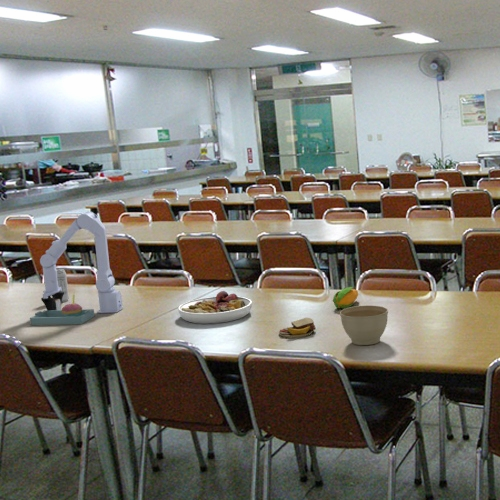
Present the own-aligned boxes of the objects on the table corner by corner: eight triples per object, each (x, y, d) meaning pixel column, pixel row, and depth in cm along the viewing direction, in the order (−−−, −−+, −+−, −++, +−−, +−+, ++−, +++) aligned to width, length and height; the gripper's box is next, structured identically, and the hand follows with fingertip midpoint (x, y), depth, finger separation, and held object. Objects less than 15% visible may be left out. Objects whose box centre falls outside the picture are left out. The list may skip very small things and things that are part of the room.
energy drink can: (70, 299, 373) (67, 268, 370) (66, 302, 367) (63, 271, 364) (58, 299, 373) (55, 269, 371) (54, 302, 367) (50, 271, 365)
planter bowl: (384, 333, 274) (382, 303, 272) (394, 346, 258) (392, 314, 256) (338, 337, 273) (336, 307, 272) (345, 350, 257) (343, 318, 256)
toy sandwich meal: (276, 331, 288) (275, 319, 287) (312, 327, 289) (311, 315, 289) (281, 340, 276) (280, 327, 275) (319, 336, 277) (318, 323, 276)
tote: (94, 315, 334) (93, 307, 334) (82, 323, 322) (81, 315, 321) (45, 317, 339) (44, 308, 339) (30, 325, 327) (29, 316, 326)
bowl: (244, 325, 301) (242, 305, 300) (170, 327, 307) (168, 307, 306) (258, 306, 330) (257, 288, 329) (190, 308, 336) (189, 290, 335)
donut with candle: (86, 317, 333) (83, 290, 331) (77, 322, 324) (74, 294, 323) (68, 317, 335) (65, 290, 333) (58, 323, 327) (55, 295, 325)
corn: (328, 292, 310) (347, 281, 327) (328, 310, 311) (347, 299, 329) (346, 294, 306) (363, 283, 324) (346, 313, 308) (363, 301, 325)
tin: (61, 312, 346) (60, 298, 345) (57, 315, 342) (55, 301, 341) (52, 312, 347) (50, 298, 346) (48, 315, 343) (46, 301, 342)
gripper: (50, 277, 350) (53, 307, 352) (34, 284, 336) (38, 315, 338) (64, 277, 348) (68, 306, 350) (49, 284, 334) (53, 314, 336)
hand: (54, 310), depth 344 cm, fingers open, 7 cm apart
